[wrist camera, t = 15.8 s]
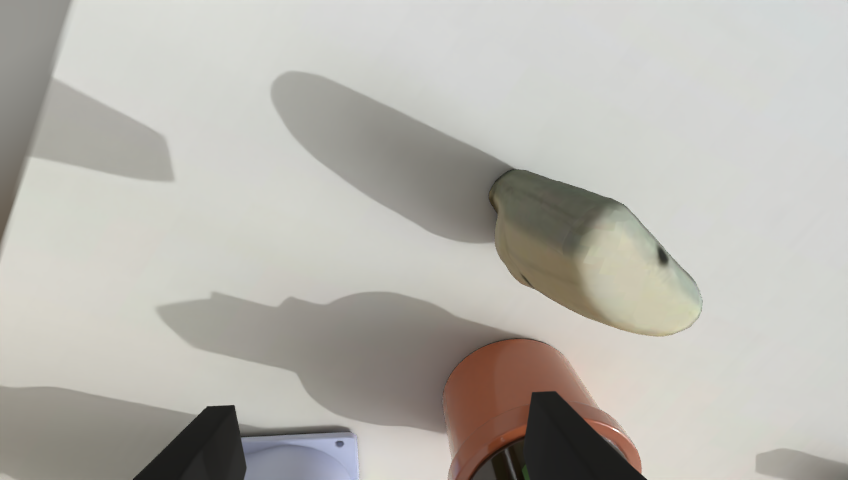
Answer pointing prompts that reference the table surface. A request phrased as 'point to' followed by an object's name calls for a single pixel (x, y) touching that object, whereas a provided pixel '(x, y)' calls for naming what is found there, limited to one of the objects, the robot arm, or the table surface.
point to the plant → (513, 408)
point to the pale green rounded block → (590, 256)
